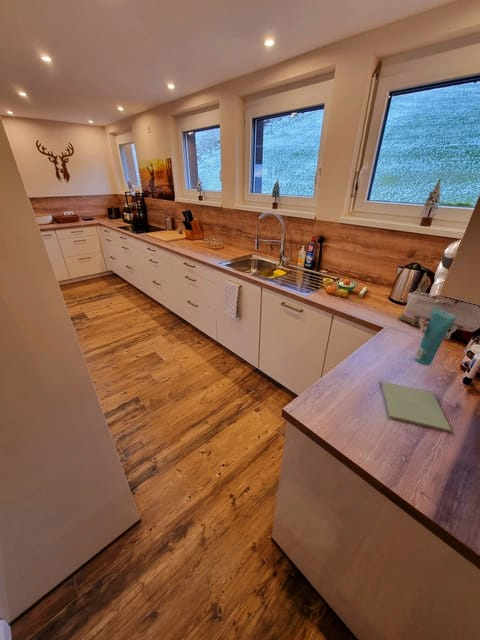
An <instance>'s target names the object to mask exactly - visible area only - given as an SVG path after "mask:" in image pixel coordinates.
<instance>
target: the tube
mask: <svg viewBox="0 0 480 640" xmlns="http://www.w3.org/2000/svg"><path fill="white" fill-rule="evenodd" d="M455 319H456V316H454V315H452V314H450V313H448V312H446V311H444V310H442V309H440V308H438V307H435V306H434V308H433V311H432V314H431V317H430V320H429V322H428V323H427V324H426V327H428V328H427V331H426V333H423V336H422V338H421V340H420V343H419V346H418V348H417V350H416V353H415V355H414V358H413V360H414V361H415V362H416V363H417V364H419V365H421V366H427V367H429V366H431V365H432V363H433V360H434V359H435V357H436V354H437V352H438V350H439V349H440V347H441V345H442V343H443V341H444V339H445V338H444V337H445V336H446V334H447V332H449V331H450V327H451V325H452V323H453V322H454V320H455Z"/></svg>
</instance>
